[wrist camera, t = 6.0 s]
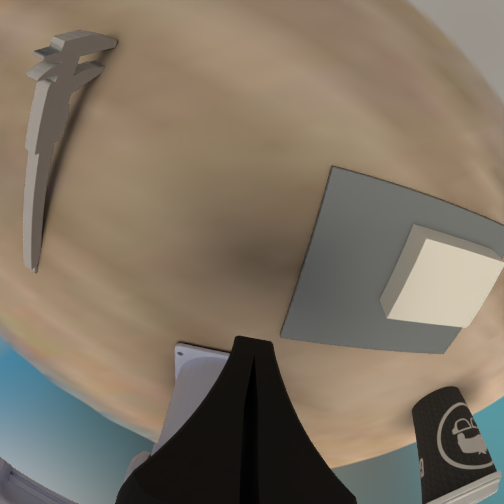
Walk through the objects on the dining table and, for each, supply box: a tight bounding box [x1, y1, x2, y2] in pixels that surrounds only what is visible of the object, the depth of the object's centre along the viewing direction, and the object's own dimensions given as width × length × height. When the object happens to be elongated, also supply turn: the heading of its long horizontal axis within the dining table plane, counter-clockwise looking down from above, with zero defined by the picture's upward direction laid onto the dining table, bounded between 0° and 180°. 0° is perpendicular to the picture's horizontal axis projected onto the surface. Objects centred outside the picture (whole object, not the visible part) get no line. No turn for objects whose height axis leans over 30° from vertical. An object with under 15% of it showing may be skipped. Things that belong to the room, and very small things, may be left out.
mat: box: [280, 166, 504, 354], centre depth 19 cm, size 13×16×1 cm
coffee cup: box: [412, 387, 501, 504], centre depth 21 cm, size 10×10×15 cm
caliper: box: [23, 30, 117, 273], centre depth 15 cm, size 20×1×6 cm, turn 145°
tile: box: [380, 224, 504, 328], centre depth 17 cm, size 6×2×8 cm
